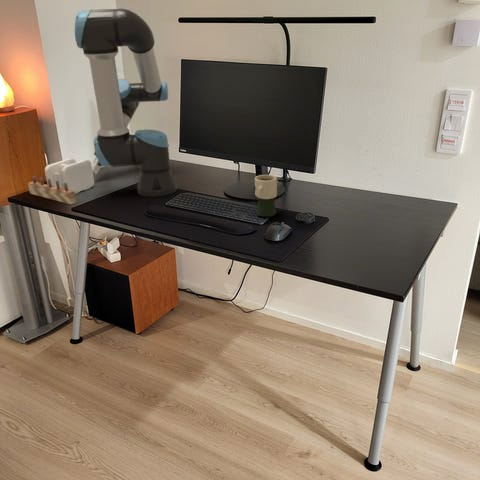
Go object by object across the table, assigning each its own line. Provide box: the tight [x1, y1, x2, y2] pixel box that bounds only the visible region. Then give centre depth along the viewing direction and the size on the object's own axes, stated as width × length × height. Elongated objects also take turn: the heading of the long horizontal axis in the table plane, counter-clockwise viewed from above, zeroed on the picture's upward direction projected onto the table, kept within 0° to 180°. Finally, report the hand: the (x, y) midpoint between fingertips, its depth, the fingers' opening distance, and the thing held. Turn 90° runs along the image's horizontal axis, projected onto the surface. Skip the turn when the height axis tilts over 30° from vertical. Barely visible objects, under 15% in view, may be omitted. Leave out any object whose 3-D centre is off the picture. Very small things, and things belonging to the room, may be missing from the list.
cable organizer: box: [44, 158, 95, 195], centre depth 194 cm, size 15×11×12 cm
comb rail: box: [27, 175, 78, 205], centre depth 187 cm, size 26×2×7 cm, turn 55°
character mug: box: [254, 174, 278, 217], centre depth 161 cm, size 11×7×13 cm, turn 153°
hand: (93, 171), depth 204 cm, fingers closed
